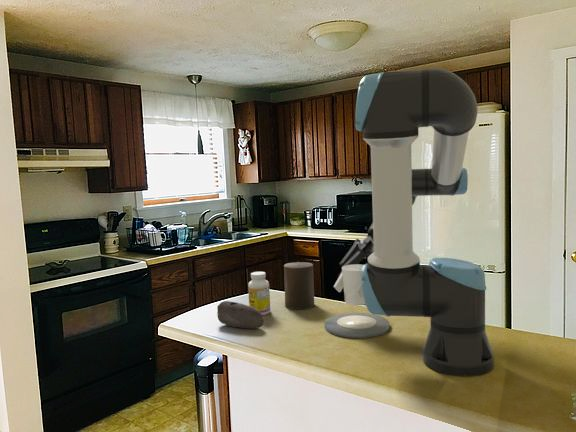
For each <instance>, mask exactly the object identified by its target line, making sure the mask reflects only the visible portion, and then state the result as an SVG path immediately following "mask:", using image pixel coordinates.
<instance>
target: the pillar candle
mask: <svg viewBox="0 0 576 432" xmlns="http://www.w3.org/2000/svg"><path fill="white" fill-rule="evenodd" d="M283 268H284V269H283V271H284V274H283V275H284V276H283V277H284V278H283V279H284V306H285V307H286V308H287V309H289V310H290V309H291V310H308V309H311V308H314V306H315V285H314V283H315V282H314V281H315V280H314V264H313V263H311V262H304V261H303V262H301V261H300V262H299V261H297V262H288V263H285V264H284V265H283Z"/></svg>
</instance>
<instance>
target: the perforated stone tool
mask: <svg viewBox="0 0 576 432" xmlns="http://www.w3.org/2000/svg"><path fill="white" fill-rule="evenodd" d="M216 308H217V312H216V313H217V314H216V315H217V320H218V321H219V322H220V323H221V324H224V325H226V326H227V327H228V326H229V327H232V328H241V329H248V330H249V329H250V330H252V329H254V330H255V329H259V328H261V327H262V326H263V324H264V317H263V315H261V313H260V312H259V311H258V310H256V309H254V308H252V307H250V306H249V305H247V304H244V303H240V302H235V301H230V300H229V301H227V300H225V301H221V302H220V303H219V304H218V305H217V307H216Z"/></svg>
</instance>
